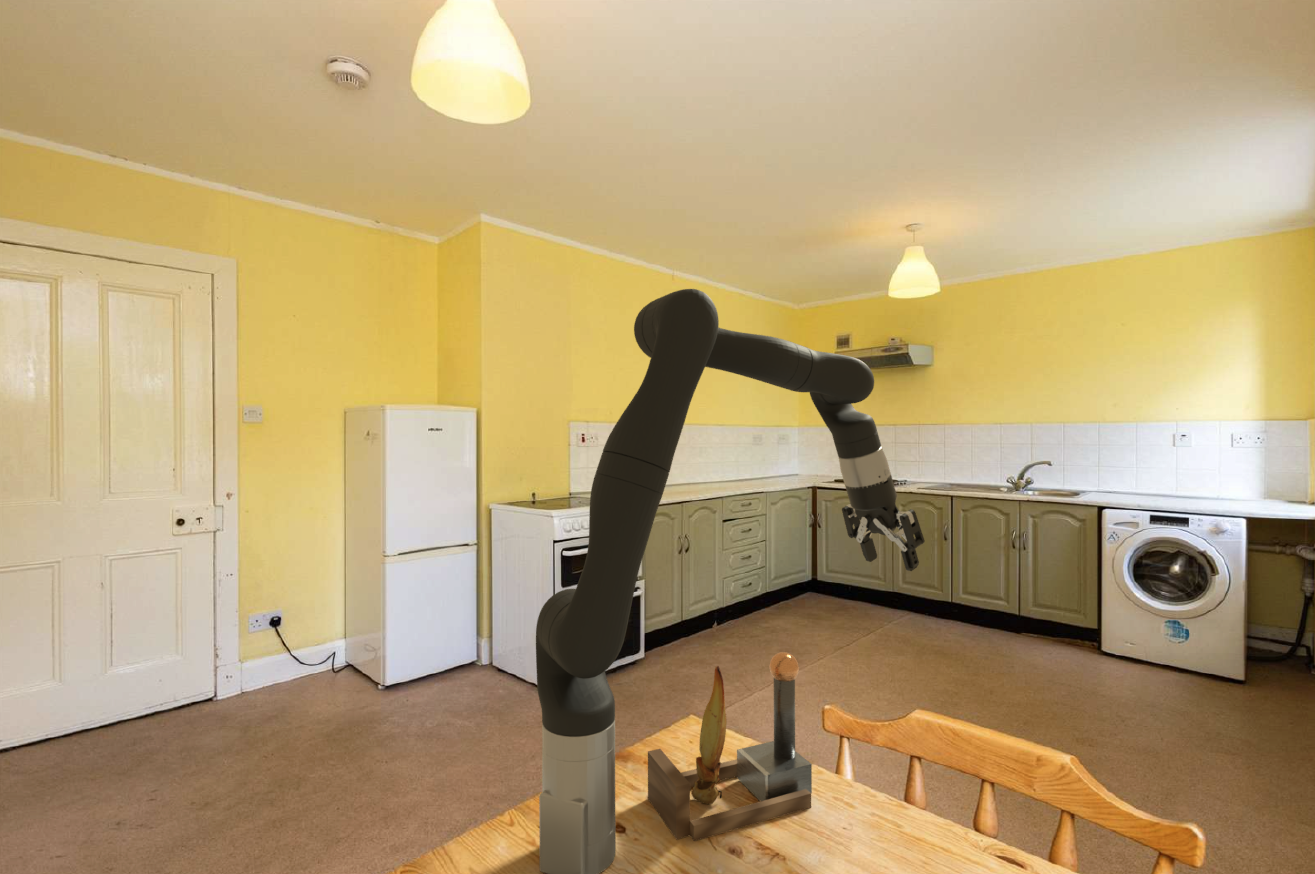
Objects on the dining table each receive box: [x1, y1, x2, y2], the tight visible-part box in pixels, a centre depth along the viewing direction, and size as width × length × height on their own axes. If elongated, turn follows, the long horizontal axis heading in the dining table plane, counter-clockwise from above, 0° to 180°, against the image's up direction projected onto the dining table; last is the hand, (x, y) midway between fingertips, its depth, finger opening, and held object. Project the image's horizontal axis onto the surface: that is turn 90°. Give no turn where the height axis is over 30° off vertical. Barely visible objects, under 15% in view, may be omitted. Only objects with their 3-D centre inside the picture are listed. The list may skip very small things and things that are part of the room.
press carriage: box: [736, 651, 813, 802], centre depth 94 cm, size 8×8×20 cm
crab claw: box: [690, 665, 728, 805], centre depth 89 cm, size 7×5×20 cm
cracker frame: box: [647, 748, 812, 842], centre depth 90 cm, size 21×12×7 cm, turn 113°
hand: (891, 564), depth 105 cm, fingers open, 8 cm apart
